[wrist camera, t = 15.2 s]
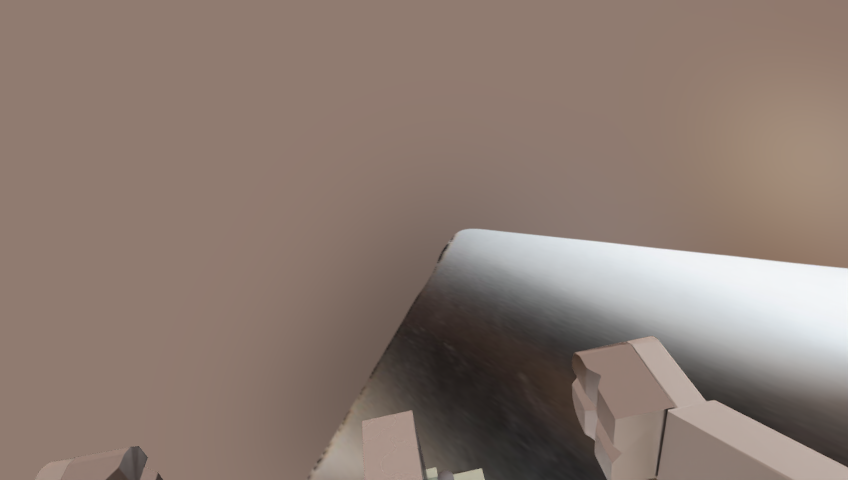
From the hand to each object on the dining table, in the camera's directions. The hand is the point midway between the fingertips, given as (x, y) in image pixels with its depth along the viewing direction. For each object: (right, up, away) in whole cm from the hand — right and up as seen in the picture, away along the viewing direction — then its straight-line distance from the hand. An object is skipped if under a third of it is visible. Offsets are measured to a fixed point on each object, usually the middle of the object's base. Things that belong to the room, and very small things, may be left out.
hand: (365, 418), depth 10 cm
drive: (+1, -19, +28) cm, 34 cm away
